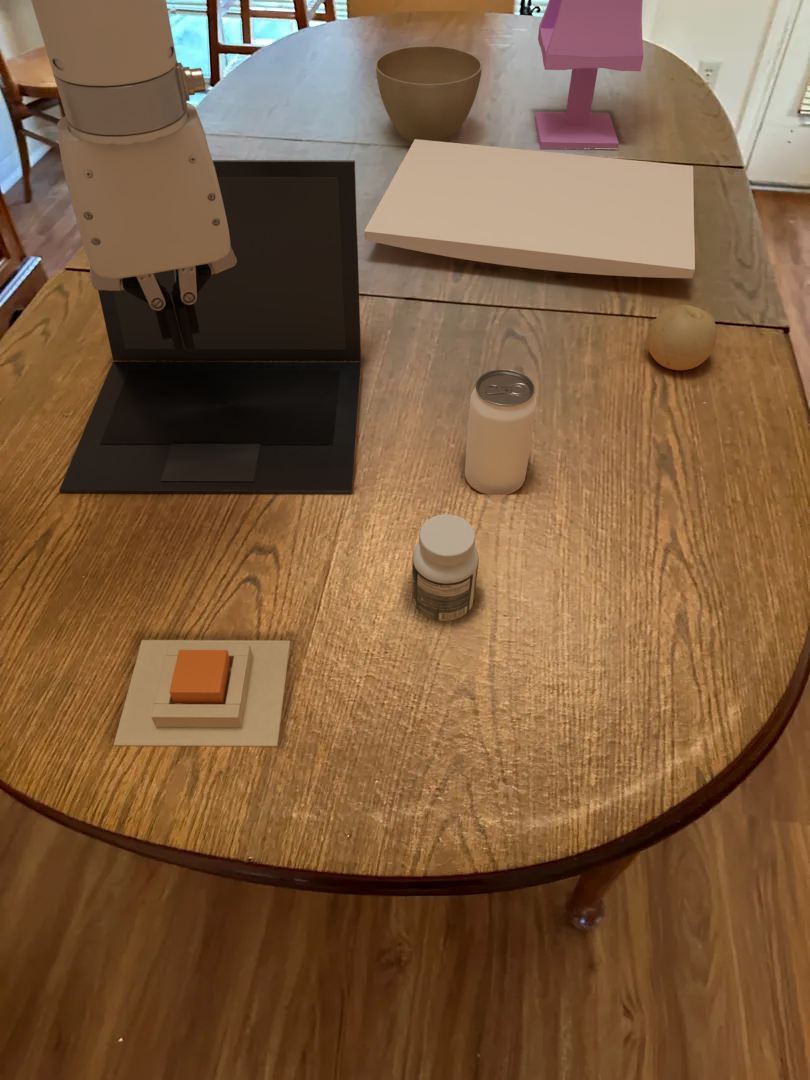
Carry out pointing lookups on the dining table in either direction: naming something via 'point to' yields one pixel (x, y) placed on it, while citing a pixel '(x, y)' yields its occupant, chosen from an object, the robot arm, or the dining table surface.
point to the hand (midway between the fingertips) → (182, 341)
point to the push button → (200, 676)
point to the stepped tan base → (230, 724)
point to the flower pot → (428, 90)
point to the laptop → (221, 429)
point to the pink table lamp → (586, 65)
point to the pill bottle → (444, 568)
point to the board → (540, 210)
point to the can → (499, 432)
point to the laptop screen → (266, 273)
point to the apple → (682, 337)
